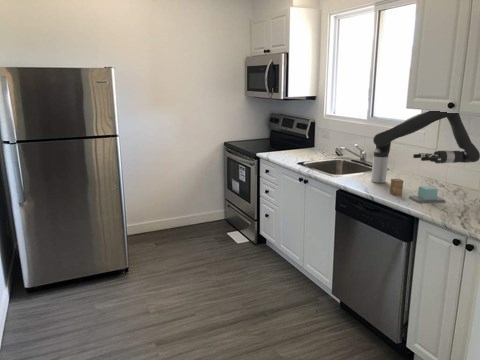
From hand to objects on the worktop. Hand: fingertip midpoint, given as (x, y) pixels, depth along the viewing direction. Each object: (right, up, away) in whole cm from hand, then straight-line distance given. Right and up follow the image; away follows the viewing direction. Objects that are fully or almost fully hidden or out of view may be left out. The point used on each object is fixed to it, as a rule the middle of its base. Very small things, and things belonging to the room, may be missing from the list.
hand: (417, 157), depth 226 cm
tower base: (+2, -24, -7) cm, 25 cm away
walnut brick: (-11, -22, +4) cm, 25 cm away
